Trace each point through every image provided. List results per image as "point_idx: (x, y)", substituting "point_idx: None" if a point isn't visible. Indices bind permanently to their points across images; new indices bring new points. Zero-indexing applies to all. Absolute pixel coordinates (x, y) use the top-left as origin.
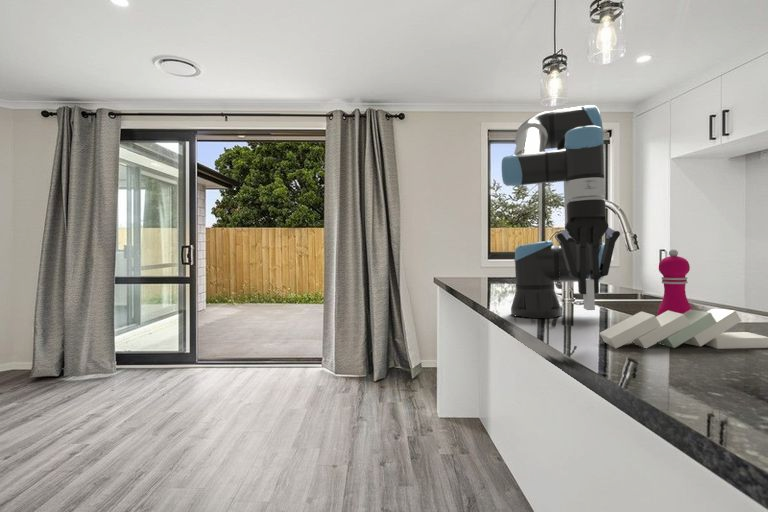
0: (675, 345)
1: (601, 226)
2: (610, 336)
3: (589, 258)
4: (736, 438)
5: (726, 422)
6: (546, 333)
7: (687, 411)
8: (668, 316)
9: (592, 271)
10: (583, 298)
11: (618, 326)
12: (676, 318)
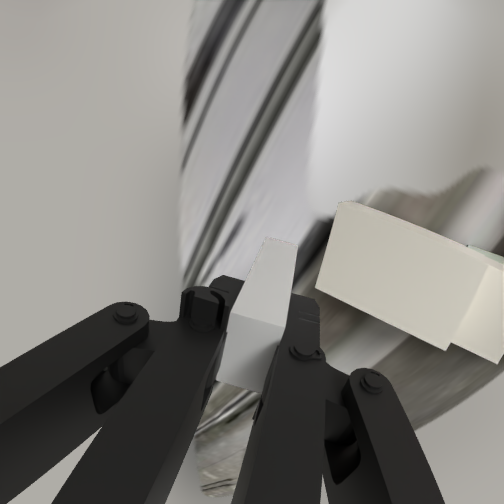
0: None
1: None
2: (324, 279)
3: (247, 487)
4: (216, 491)
5: (230, 485)
6: (242, 23)
7: (216, 473)
8: (498, 321)
9: (254, 423)
10: (258, 254)
11: (383, 254)
12: (480, 355)
